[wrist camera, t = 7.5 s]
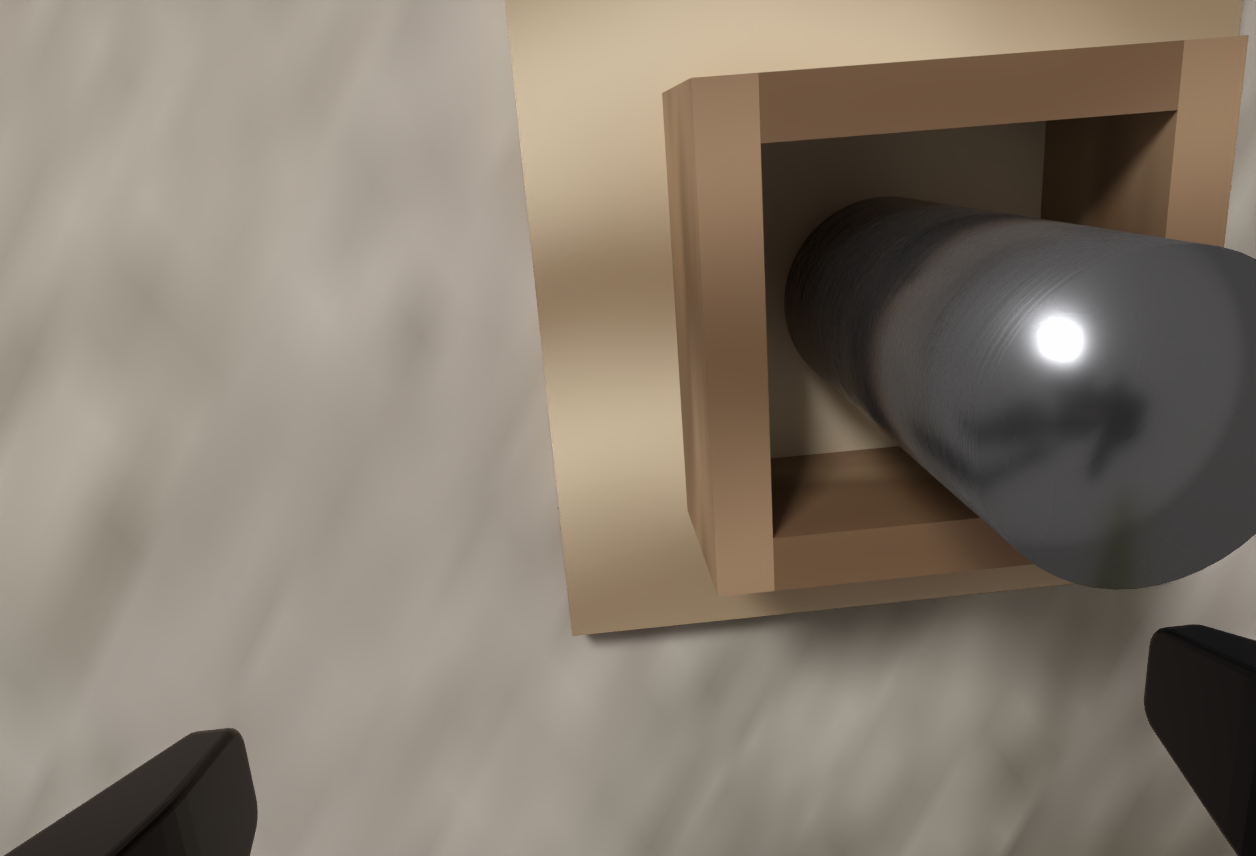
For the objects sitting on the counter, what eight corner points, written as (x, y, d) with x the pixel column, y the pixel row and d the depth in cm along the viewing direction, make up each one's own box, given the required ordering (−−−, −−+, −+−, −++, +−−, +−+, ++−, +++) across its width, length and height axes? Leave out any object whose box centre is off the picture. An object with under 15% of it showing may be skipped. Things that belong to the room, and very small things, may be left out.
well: (1156, 557, 22) (1314, 666, 17) (571, 618, 21) (575, 747, 17) (1225, -100, 18) (1457, -186, 13) (501, -50, 17) (480, -121, 13)
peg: (972, 382, 19) (1300, 570, 11) (786, 400, 19) (970, 606, 11) (980, 188, 18) (1355, 227, 10) (781, 204, 18) (985, 260, 9)
